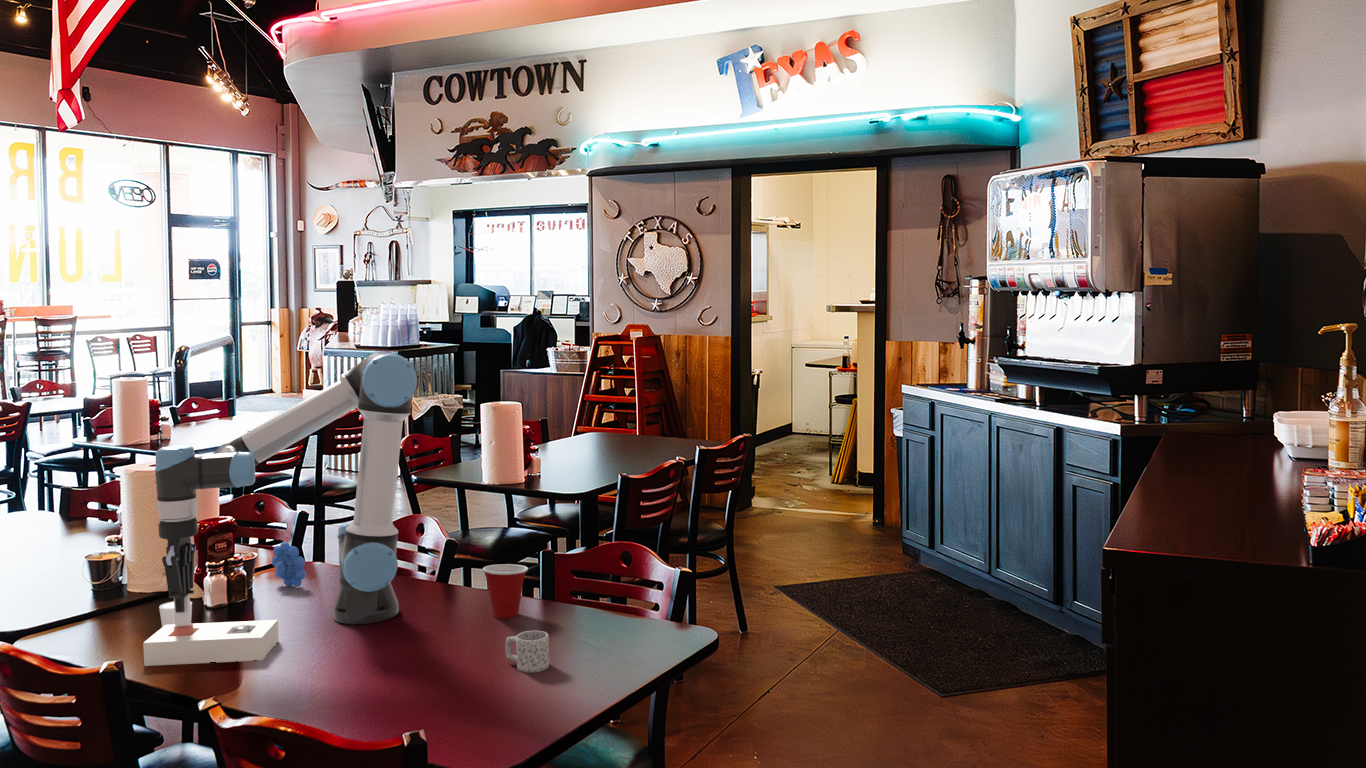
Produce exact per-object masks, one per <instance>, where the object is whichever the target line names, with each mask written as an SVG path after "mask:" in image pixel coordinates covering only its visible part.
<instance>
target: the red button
mask: <svg viewBox="0 0 1366 768" xmlns="http://www.w3.org/2000/svg"><path fill="white" fill-rule="evenodd" d="M193 634H194V631H193V623H191V624H190V625H189V626H181V627H174V636H191V635H193Z"/></svg>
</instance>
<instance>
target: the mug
mask: <svg viewBox="0 0 1366 768" xmlns="http://www.w3.org/2000/svg"><path fill="white" fill-rule="evenodd" d="M549 636H550V635H549V633H548V632H546V631H544V630H543V631H542V630H527V631H522V632H520V633H518V634H517V635H515V636H514V635H513V636H508V637H506V638H505V639H506V640H505V644H504V648H505V655H506V658H508V659H509V660H511V661H512V662H515V663H516V669H517V670H518V671H520V672H522V673H528V674H529V673H532V674H533V673H540V672H542V671H545V670H547V669H549V668H550V647H549V646H550V643H549V641H550V640H549ZM512 642H513V643H515V644H516V648H515V649H516V655H515V654H512V652H511V643H512Z"/></svg>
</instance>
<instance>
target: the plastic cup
mask: <svg viewBox="0 0 1366 768" xmlns="http://www.w3.org/2000/svg"><path fill="white" fill-rule="evenodd" d="M528 570H529V567H527V566H526V565H522V564H514V563H513V564H512V563H505V564H501V563H500V564H498V563H497V564H492V565H491V564H490V565H487V566H484V567H483V568H482V571H483V572H484V573H483V574H484V575H485V578H486V579H485V580H486V582H487V588H488V589H487V590H488V594H489V599H490V604H491V609H492V613H493V617H495V618H496V619H498V620H500V619H501V620H508V619H513V618H516V617H518V615H519V611H520V605H521V600H522V599H521V598H522V592H523V585H524V582H525V576H526V573H527V572H528Z"/></svg>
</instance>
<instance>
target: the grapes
mask: <svg viewBox="0 0 1366 768" xmlns="http://www.w3.org/2000/svg"><path fill="white" fill-rule="evenodd" d="M299 554H300V550H299V549H298V547H296V546H294V545H291V544H289V543H288V542H286V541H282V542H281V543H280V545H276V546H275V547H274V548H273V555H274V556H273V557H272V559H271V563H272V565H273V567H275V575H276V577H277V578H278V579H280V580H283V581H282V582H283V584H284V585H285V586H286V587H293V586H294V587H297V588H298V587H300V586H301V585H302V582H303V580H305V578H306V577H307V572H306V570H305V569H304V567H305V565H306V561H305V558H303V557H302V556H300V555H299Z"/></svg>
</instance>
